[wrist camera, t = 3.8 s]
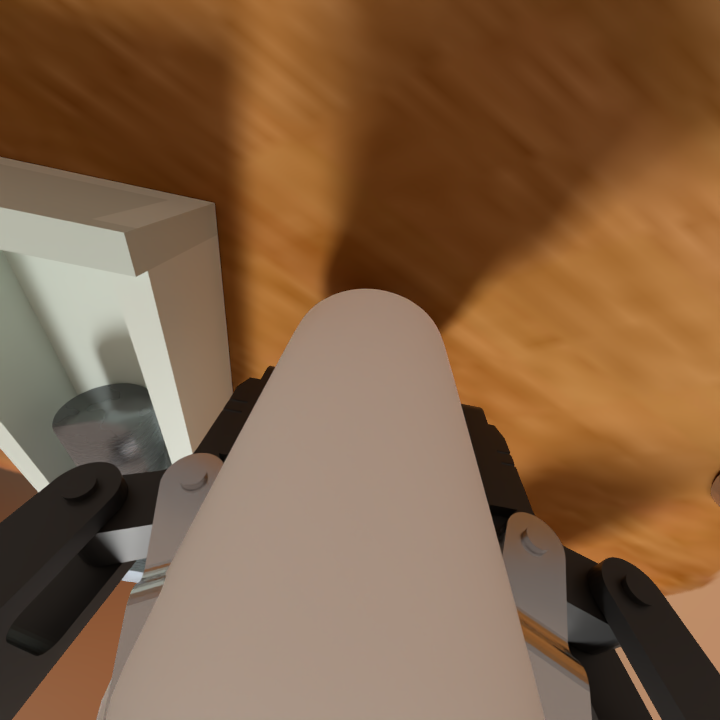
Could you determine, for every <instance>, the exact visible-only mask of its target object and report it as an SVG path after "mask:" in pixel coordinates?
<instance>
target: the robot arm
mask: <svg viewBox="0 0 720 720" xmlns="http://www.w3.org/2000/svg"><path fill="white" fill-rule="evenodd" d="M274 369H275V367H273V366H269V367H268V368H267V370H266V371H265V373H264V375H263V377H262V378H261V380H260V379H255V378H249V379H248V380H246V381H245V382H243V383H242V384H240V385H239V386H238V387H237V388H236V390H235V391H234V393H233V394H232V396H231V397H230V400H229V401H228V402H227V403H226V405H225V407H224V409H223V411H221V413H220V414H219V416H218V417H217V419H216V420H215V422H214V423H213V425H212V426H211V428H210V429H209V431H208V432H207V434H206V435H205V437H204V438H203V440H202V441H201V443H200V445H199V446H198V448H197V449H196V450H195V452H194V453H193V454H191V455H188V456H185V457H183V458H181V459H179V460H178V461H176V462H175V463H173V464H172V465H171V466H170V467H169V468H168V469H164V470H160V471H153V472H144V473H135V474H126V475H122V474H121V472H120V470H119V469H118V468H117V467H116V466H115V465H113V464H111V463H107V462H92V463H87V464H83V465H80V466H77V467H75V468H73V469H71V470H68V471H67V472H65V473H63V474H62V475H60V476H59V477H57V478H56V479H55V480H53V481H52V482H51V483H50V484H48V485H47V486H46V487H45V488H43V489H42V490H41V491H40V492H38V493H37V494H36V495H35V496H33V497H32V498H31V499H30V500H28V501H27V502H26V503H25V504H23V505H22V506H21V507H20V508H18V509H17V510H16V511H15V512H13V513H12V514H11V515H10V516H9V517H7V518H6V519H5V520H3V521H2V522H1V523H0V720H12V719H13V717H14V716H15V715H16V713H17V712H18V711H19V710H20V708H21V707H22V706H23V705H24V703H25V702H26V701H27V699H28V698H29V697H30V696H31V694H32V693H33V692H34V691H35V689H36V688H37V687H38V685H39V684H40V683H41V681H42V680H43V679H44V678H45V676H46V675H47V673H49V671H50V670H51V669H52V668H53V666H54V665H55V664H56V663H57V661H58V660H59V659H60V657H61V656H62V655H63V654H64V652H65V651H66V650H67V649H68V647H69V646H70V645H71V643H72V642H73V641H74V639H75V638H76V637H77V636H78V635H79V633H80V632H81V631H82V629H83V628H84V627H85V626H86V624H87V623H88V622H89V620H90V619H91V618H92V617H93V615H94V614H95V613H96V612H97V610H98V609H99V608H100V606H101V605H102V604H103V603H104V601H105V600H106V599H107V598H108V596H109V595H110V594H111V592H112V591H113V590H114V588H115V587H116V586H117V585H118V583H119V582H120V581H121V580H122V578H123V577H124V576H125V575H126V573H127V572H128V571H129V570H130V568H131V567H132V566H133V564H134V563H135V562H136V561H137V560H139V559H144V558H146V564H145V569H144V573H143V576H142V578H141V580H140V582H138V583H137V584H136V585H135V586H134V588H133V589H132V591H131V594H130V597H129V600H128V603H127V606H126V611H125V615H124V620H123V625H122V631H121V635H120V640H119V645H118V650H117V655H116V660H115V665H114V670H113V675H112V680H111V685H110V690H109V694H108V699H107V704H106V709H105V714H104V719H103V720H106V716H107V711H108V707H109V703H110V699H111V696H112V694H113V691H114V689H115V686H116V684H117V682H118V679H119V677H120V675H121V672H122V670H123V667H124V665H125V663H126V661H127V659H128V657H129V655H130V653H131V651H132V649H133V647H134V645H135V643H136V641H137V639H138V637H139V635H140V633H141V631H142V628H143V626H144V624H145V622H146V620H147V618H148V616H149V614H150V612H151V610H152V608H153V606H154V604H155V602H156V600H157V598H158V596H159V594H160V592H161V590H162V587H163V585H164V582H165V578H166V575H165V574H166V572H167V570H168V568H169V566H170V564H171V562H172V560H173V558H174V556H175V554H176V552H177V550H178V548H179V547H180V545H181V543H182V541H183V539H184V537H185V535H186V533H187V531H188V530H189V528H190V526H191V524H192V522H193V520H194V518H195V516H196V515H197V513H198V511H199V509H200V507H201V505H202V503H203V501H204V499H205V498H206V496H207V494H208V492H209V490H210V488H211V486H212V484H213V483H214V481H215V479H216V477H217V475H218V473H219V471H220V469H221V468H222V466H223V464H224V462H225V460H226V458H227V456H228V454H229V452H230V451H231V449H232V447H233V445H234V443H235V441H236V439H237V437H238V436H239V434H240V432H241V430H242V428H243V426H244V424H245V423H246V421H247V419H248V417H249V415H250V413H251V411H252V409H253V408H254V406H255V404H256V402H257V400H258V398H259V396H260V395H261V393H262V391H263V389H264V387H265V385H266V383H267V382H268V380H269V378H270V376H271V374H272V372H273V370H274ZM461 406H462V410H463V414H464V417H465V421H466V425H467V428H468V432H469V435H470V439H471V443H472V446H473V450H474V454H475V457H476V461H477V465H478V468H479V472H480V476H481V479H482V483H483V487H484V490H485V494H486V498H487V501H488V505H489V509H490V513H491V516H492V520H493V524H494V527H495V531H496V535H497V538H498V542H499V546H500V550H501V553H502V557H503V561H504V564H505V568H506V572H507V576H508V579H509V583H510V587H511V590H512V594H513V598H514V602H515V605H516V609H517V613H518V617H519V620H520V624H521V628H522V632H523V636H524V639H525V643H526V647H527V651H528V654H529V658H530V662H531V666H532V670H533V673H534V677H535V681H536V685H537V689H538V693H539V697H540V702H541V706H542V710H543V714H544V718H545V720H653V719H652V717H651V715H650V714H649V712H648V710H647V708H646V706H645V704H644V702H643V701H642V699H641V697H640V695H639V693H638V691H637V689H636V688H635V686H634V684H633V682H632V680H631V678H630V677H629V675H628V673H627V671H626V669H625V667H624V666H623V664H622V662H621V660H620V658H619V656H618V655H617V653H616V651H615V648H618V647H622V649H623V651H624V653H625V654H626V656H627V658H628V660H629V662H630V664H631V665H632V667H633V669H634V671H635V672H636V674H637V676H638V678H639V679H640V681H641V683H642V685H643V687H644V689H645V690H646V692H647V694H648V696H649V697H650V699H651V701H652V703H653V704H654V706H655V708H656V710H657V712H658V714H659V715H660V717H661V719H662V720H720V674H719V673H718V671H717V670H716V668H715V667H714V665H713V664H712V663H711V661H710V660H709V658H708V657H707V656H706V654H705V653H704V651H703V650H702V649H701V647H700V646H699V644H698V643H697V642H696V640H695V639H694V638H693V636H692V635H691V633H690V632H689V631H688V629H687V628H686V626H685V625H684V623H683V622H682V621H681V619H680V618H679V616H678V615H677V614H676V612H675V611H674V610H673V608H672V607H671V605H670V604H669V602H668V601H667V600H666V598H665V597H664V595H663V594H662V593H661V591H660V590H659V589H658V587H657V586H656V585H655V584H654V583H653V581H652V580H651V579H650V578H649V577H648V576H647V575H646V574H645V573H643V572H642V571H641V570H640V569H638V568H637V567H636V566H634V565H633V564H631V563H629V562H627V561H625V560H623V559H619V558H614V557H612V558H608V559H605V560H604V561H602V562H601V563H599V564H598V563H596V562H594V561H592V560H590V559H588V558H586V557H584V556H582V555H580V554H578V553H576V552H574V551H572V550H570V549H568V548H566V547H565V546H563V545H562V544H561V542H560V540H559V538H558V537H557V535H556V534H555V532H554V531H553V530H552V529H551V528H550V527H549V526H548V525H547V524H546V523H545V522H543V521H542V520H541V519H539V518H538V517H536V516H535V515H534V513H533V511H532V508H531V505H530V503H529V500H528V498H527V495H526V493H525V490H524V487H523V485H522V482H521V480H520V477H519V474H518V472H517V469H516V467H514V462H513V459H512V456H511V455H510V451H509V449H508V446H507V443H506V441H505V438H504V437H503V436H502V435H501V433H500V432H499V431H498V430H497V428H496V427H495V426H494V425H489V424H488V423H487V420H486V417H485V414H484V412H483V410H482V408H480V407H475V406H470V405H464V404H461ZM711 496H712V498H713V499H714V501H715V502H716V503H717V504H718V505H719V506H720V475H719V476H718V477H717V478H716V479H715V481H714V483H713V485H712V487H711Z"/></svg>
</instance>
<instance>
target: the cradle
mask: <svg viewBox="0 0 720 720" xmlns="http://www.w3.org/2000/svg"><path fill="white" fill-rule="evenodd" d="M118 383H128V384H136V385H140V386H143V387H145V388H147V389H148V392H149V395H150V398H151V401H152V405H153V408H154V411H155V414H156V417H157V420H158V423H159V426H160V429H161V432H162V435H163V438H164V441H165V444H166V447H167V450H168V454H169V457H170V460H171V463H172V464H173V463H175V462H176V461H178V460H179V459H181V458H183V457H185V456H188V455H191V454H193V453H194V452H195V450H196V449H197V448H198V446H199V445H200V443H201V441H202V440H203V438H204V437H205V435H206V434H207V432H208V431H209V429H210V428H211V426H212V425H213V423H214V422H215V420H216V419H217V417H218V416H219V414H220V413H221V411H223V409H224V407H225V405H226V403H227V402H228V401H229V400H230V397H231V396H232V394H233V388H232V378H231V367H230V357H229V346H228V336H227V325H226V315H225V305H224V294H223V284H222V273H221V263H220V253H219V242H218V232H217V221H216V211H215V203H213V202H208V201H203V200H199V199H194V198H189V197H185V196H180V195H175V194H171V193H166V192H161V191H157V190H152V189H148V188H143V187H138V186H134V185H129V184H124V183H120V182H115V181H110V180H106V179H101V178H96V177H92V176H87V175H82V174H78V173H73V172H68V171H64V170H59V169H54V168H50V167H45V166H40V165H36V164H31V163H27V162H22V161H17V160H13V159H8V158H3V157H0V448H1V449H2V451H3V452H4V453H5V454H6V455H7V456H8V458H9V459H10V460H11V461H12V462H13V463H14V465H15V466H16V467H17V468H18V469H19V470H20V472H21V473H22V474H23V475H24V476H25V477H26V478H27V480H28V481H29V482H30V483H31V484H32V485H33V487H34V488H35V489H36V490H37V491H38V492H40V491H41V490H42V489H43V488H45V487H46V486H47V485H48V484H50V483H51V482H52V481H53V480H55V479H56V478H57V477H59V476H60V475H62V474H63V473H65V472H67V471H68V470H71V469H73V468H75V467H77V466H76V464H75V463H74V461H73V460H72V458H71V457H70V455H69V454H68V452H67V451H66V449H65V448H64V446H63V445H62V443H61V442H60V440H59V438H58V437H57V435H56V434H55V432H54V431H53V427H52V422H53V419H54V416H55V414H56V413H57V412H58V410H59V409H60V408H61V407H62V406H63V405H64V404H65V403H67V402H68V401H69V400H71V399H72V398H74V397H76V396H77V395H79V394H81V393H83V392H86V391H88V390H91V389H93V388H97V387H100V386H104V385H110V384H118Z"/></svg>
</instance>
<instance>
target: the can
mask: <svg viewBox="0 0 720 720" xmlns="http://www.w3.org/2000/svg"><path fill="white" fill-rule="evenodd" d="M165 575H166V578H165V582H164V585H163V587H162V590H161V592H160V594H159V596H158V598H157V600H156V602H155V604H154V606H153V608H152V610H151V612H150V614H149V616H148V618H147V620H146V622H145V624H144V626H143V628H142V631H141V633H140V635H139V637H138V639H137V641H136V643H135V645H134V647H133V649H132V651H131V653H130V655H129V657H128V659H127V661H126V663H125V665H124V667H123V670H122V672H121V675H120V677H119V679H118V682H117V684H116V686H115V689H114V691H113V694H112V696H111V699H110V703H109V707H108V711H107V716H106V720H545V718H544V714H543V710H542V706H541V702H540V697H539V693H538V689H537V685H536V681H535V677H534V673H533V670H532V666H531V662H530V658H529V654H528V651H527V647H526V643H525V639H524V636H523V632H522V628H521V624H520V620H519V617H518V613H517V609H516V605H515V602H514V598H513V594H512V590H511V587H510V583H509V579H508V576H507V572H506V568H505V564H504V561H503V557H502V553H501V550H500V546H499V542H498V538H497V535H496V531H495V527H494V524H493V520H492V516H491V513H490V509H489V505H488V501H487V498H486V494H485V490H484V487H483V483H482V479H481V476H480V472H479V468H478V465H477V461H476V457H475V454H474V450H473V446H472V443H471V439H470V435H469V432H468V428H467V425H466V421H465V417H464V414H463V410H462V406H461V403H460V399H459V396H458V392H457V388H456V385H455V381H454V378H453V374H452V370H451V367H450V363H449V360H448V356H447V353H446V349H445V346H444V343H443V340H442V337H441V335H440V332H439V330H438V328H437V326H436V325H435V323H434V322H433V320H432V319H431V318H430V316H429V315H428V314H427V313H426V312H425V311H424V310H423V309H421V308H420V307H419V306H418V305H416V304H415V303H413V302H412V301H410V300H408V299H406V298H404V297H402V296H400V295H397V294H395V293H391V292H388V291H383V290H377V289H354V290H348V291H343V292H340V293H337V294H334V295H332V296H330V297H328V298H326V299H324V300H322V301H321V302H319V303H318V304H316V305H315V306H314V307H313V308H312V309H311V310H310V311H309V312H308V313H307V314H306V315H305V316H304V318H303V319H302V320H301V322H300V324H299V325H298V327H297V329H296V330H295V332H294V334H293V336H292V337H291V339H290V341H289V343H288V345H287V347H286V348H285V350H284V352H283V354H282V356H281V358H280V359H279V361H278V363H277V365H276V367H275V369H274V370H273V372H272V374H271V376H270V378H269V380H268V382H267V383H266V385H265V387H264V389H263V391H262V393H261V395H260V396H259V398H258V400H257V402H256V404H255V406H254V408H253V409H252V411H251V413H250V415H249V417H248V419H247V421H246V423H245V424H244V426H243V428H242V430H241V432H240V434H239V436H238V437H237V439H236V441H235V443H234V445H233V447H232V449H231V451H230V452H229V454H228V456H227V458H226V460H225V462H224V464H223V466H222V468H221V469H220V471H219V473H218V475H217V477H216V479H215V481H214V483H213V484H212V486H211V488H210V490H209V492H208V494H207V496H206V498H205V499H204V501H203V503H202V505H201V507H200V509H199V511H198V513H197V515H196V516H195V518H194V520H193V522H192V524H191V526H190V528H189V530H188V531H187V533H186V535H185V537H184V539H183V541H182V543H181V545H180V547H179V548H178V550H177V552H176V554H175V556H174V558H173V560H172V562H171V564H170V566H169V568H168V570H167V572H166V574H165ZM111 680H112V679H111ZM110 685H111V681H110V683H109V686H108V688H107V690H106V692H105V695H104V697H103V699H102V702H101V706H100V709H99V712H98V716H97V720H103V719H104V714H105V709H106V704H107V699H108V694H109V690H110Z"/></svg>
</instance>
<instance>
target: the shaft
mask: <svg viewBox="0 0 720 720" xmlns="http://www.w3.org/2000/svg"><path fill="white" fill-rule="evenodd" d="M52 427H53V431H54V432H55V434H56V435H57V437H58V438H59V440H60V442H61V443H62V445H63V446H64V448H65V449H66V451H67V452H68V454H69V455H70V457H71V458H72V460H73V461H74V463H75V464H76V466H80V465H83V464H87V463H92V462H107V463H111V464H113V465H115V466H116V467H117V468H118V469H119V470H120V472H121V474H122V475H126V474H135V473H144V472H153V471H160V470H164V469H168V468H169V467H170V466H171V465H172V463H171V460H170V457H169V454H168V450H167V447H166V444H165V441H164V438H163V435H162V432H161V429H160V426H159V423H158V420H157V417H156V414H155V411H154V408H153V405H152V401H151V398H150V395H149V392H148V389H147V388H145V387H143V386H140V385H136V384H128V383H118V384H110V385H104V386H100V387H97V388H93V389H91V390H88V391H86V392H83V393H81V394H79V395H77V396H76V397H74V398H72V399H71V400H69V401H68V402H67V403H65V404H64V405H63V406H62V407H61V408H60V409H59V410H58V412H57V413H56V414H55V416H54V419H53V422H52ZM145 564H146V558H144V559H139V560H137V561H136V562H135V563H134V564H133V566H132V567H131V568H130V570H129V571H128V572H127V573H126V575H125V576H124V577H123V578H122V580H123V581H130V582H137V583H138V582H140V580H141V578H142V576H143V573H144V569H145Z"/></svg>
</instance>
